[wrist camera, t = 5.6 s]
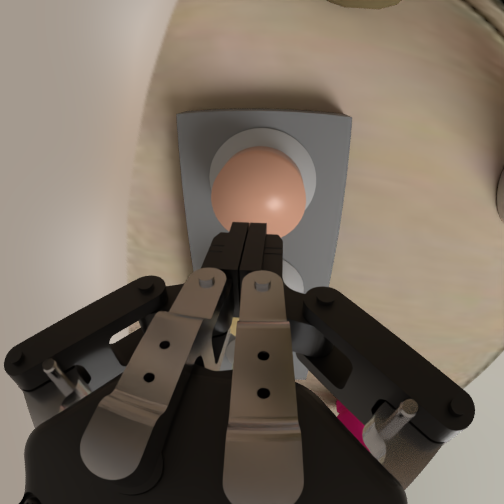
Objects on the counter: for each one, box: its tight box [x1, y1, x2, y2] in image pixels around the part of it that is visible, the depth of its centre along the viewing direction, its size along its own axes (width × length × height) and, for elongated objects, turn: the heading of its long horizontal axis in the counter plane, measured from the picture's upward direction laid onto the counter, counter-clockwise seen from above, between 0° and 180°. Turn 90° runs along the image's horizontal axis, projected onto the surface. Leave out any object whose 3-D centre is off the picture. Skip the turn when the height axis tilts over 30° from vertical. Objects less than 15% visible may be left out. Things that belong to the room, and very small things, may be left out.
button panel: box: [176, 109, 352, 380], centre depth 26 cm, size 12×30×3 cm, turn 0°
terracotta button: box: [211, 146, 306, 238], centre depth 17 cm, size 6×6×2 cm
